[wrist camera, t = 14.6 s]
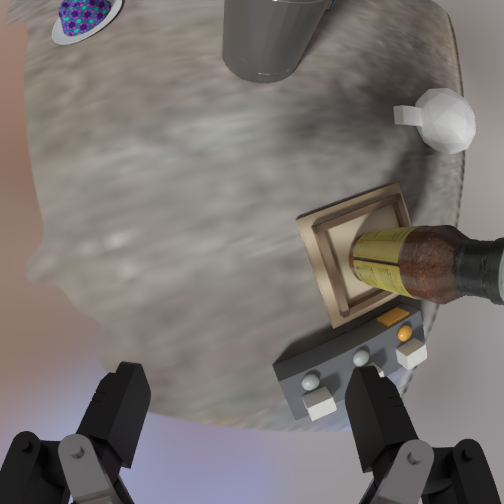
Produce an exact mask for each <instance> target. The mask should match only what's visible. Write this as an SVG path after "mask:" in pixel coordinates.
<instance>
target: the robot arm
mask: <svg viewBox="0 0 504 504" xmlns="http://www.w3.org/2000/svg"><path fill="white" fill-rule="evenodd" d="M329 2H330V0H225V4H224V26H223V51H222V53H223V59H224V62H225V64H226V65H227V67H228V68H229V69H230V70H231V71H232V72H233V73H234V74H236V75H237V76H239V77H241V78H243V79H246V80H249V81H252V82H258V83H270V82H276V81H279V80H283V79H284V78H286V77H288V76H289V75H290V74H291V73H292V72H293V71H294V70H295V68H296V66H297V64H298V62H299V60H300V58H301V56H302V54H303V52H304V50H305V49H306V46H307V44H308V42H309V40H310V38H311V36H312V35H313V33H314V31H315V29H316V27H317V25H318V23H319V21H320V19H321V17H322V15H323V13H324V11H325V9H326V7H327V5H328V3H329ZM150 399H151V391H150V387H149V384H148V381H147V379H146V376H145V373H144V370H143V367H142V365H141V364H138V363H131V362H124V361H122V362H121V363H120V364H119V366H118V368H117V370H116V373H111V372H110V373H108V374H107V375H106V376H105V377H104V378H103V379H102V380H101V381H100V383H99V385H98V387H97V389H96V393H94V395H93V398H92V401H91V402H90V404H89V406H88V408H87V410H86V412H85V415H84V417H83V419H82V421H81V424H80V426H79V428H78V430H77V432H76V433H75V434H71V435H68V436H66V437H65V438H64V439H63V440H62V441H44V440H40V439H39V438H38V437H37V436H36V435H35V434H34V433H32V432H29V431H24V432H20V433H19V434H17V435H16V436H15V437H14V439H13V441H12V443H11V446H10V448H9V451H8V453H7V455H6V458H5V460H4V463H3V465H2V468H1V470H0V504H68V502H69V498H70V495H72V497H73V503H71V504H134V502H133V500H132V498H131V496H130V495H129V493H128V491H127V489H126V487H125V485H124V483H123V481H122V479H121V477H120V475H119V471H120V468H121V467H125V468H129V469H130V468H131V465H132V461H133V457H134V454H135V450H136V447H137V444H138V440H139V437H140V433H141V430H142V426H143V423H144V420H145V416H146V413H147V410H148V407H149V404H150ZM345 405H346V409H347V413H348V417H349V420H350V424H351V428H352V432H353V435H354V439H355V443H356V447H357V451H358V455H359V459H360V463H361V467H362V471H363V473H366V472H371V471H372V472H373V476H374V478H373V479H372V481H371V483H370V484H369V486H368V488H367V490H366V492H365V493H364V495H363V497H362V499H361V500H360V502H359V504H418V501H419V499H420V497H421V498H422V503H423V504H501V501H500V498H499V495H498V491H497V488H496V485H495V482H494V479H493V476H492V474H491V471H490V468H489V465H488V463H487V460H486V457H485V455H484V452H483V450H482V448H481V446H480V444H479V443H478V442H476V441H475V440H473V439H464V440H462V441H460V442H459V443H458V444H457V445H456V446H455V447H445V448H433V447H431V446H430V445H429V444H428V443H426V442H425V441H422V440H419V438H418V436H417V435H416V432H415V430H414V427H413V425H412V422H411V420H410V417H409V415H408V413H407V411H406V408H405V406H404V403H403V401H402V399H401V398H400V394H399V392H398V390H397V388H396V386H395V384H394V383H393V382H392V381H391V380H390V379H389V378H388V377H387V376H385V377H380V375H379V373H378V370H377V368H376V367H375V366H374V365H369V366H360V367H355V368H354V369H353V372H352V375H351V378H350V381H349V384H348V386H347V389H346V392H345Z"/></svg>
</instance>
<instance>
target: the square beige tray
mask: <svg viewBox="0 0 504 504" xmlns="http://www.w3.org/2000/svg"><path fill="white" fill-rule="evenodd" d="M296 223H297V225H298V228H299V231H300V234H301V236H302V239H303V242H304V245H305V248H306V250H307V253H308V256H309V259H310V262H311V265H312V268H313V271H314V273H315V276H316V279H317V282H318V285H319V288H320V291H321V294H322V297H323V301H324V304H325V307H326V310H327V313H328V316H329V319H330V323H331V326H332V328H333V329H335V328H337V327H339V326H341V325H343V324H345V323H347V322H349V321H351V320H353V319H355V318H357V317H359V316H361V315H363V314H365V313H367V312H369V311H371V310H373V309H375V308H377V307H378V306H380V305H382V304H384V303H386V302H388V301H390V300H391V299H393V298H395V297H397V296H399V295H400V294H397V293H393V292H390V291H387V290H383V289H380V288H376V287H372V286H369V285H367V284H365V283H364V282H362V281H360V280H358V279H357V278H356V277H355V275H354V274H353V272H352V270H351V269H350V266H349V254H350V249H351V246H352V244H353V242H354V240H355V239H356V238H357V237H358V236H360V235H362V234H364V233H366V232H368V231H370V230H374V229H388V228H400V227H412V224H411V220H410V217H409V213H408V210H407V207H406V204H405V200H404V197H403V194H402V191H401V188H400V185H399V182H397V183H394V184H391V185H388V186H386V187H383V188H380V189H377V190H375V191H372V192H369V193H367V194H364V195H361V196H358V197H356V198H353V199H350V200H348V201H345V202H342V203H340V204H337V205H334V206H331V207H329V208H326V209H323V210H321V211H318V212H315V213H313V214H310V215H308V216H305V217H302V218H300V219H297V220H296Z"/></svg>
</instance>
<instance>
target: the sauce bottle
mask: <svg viewBox="0 0 504 504" xmlns="http://www.w3.org/2000/svg"><path fill="white" fill-rule="evenodd" d="M349 266H350V269H351V270H352V272H353V274H354V275H355V277H356V278H357V279H358V280H360V281H362V282H364V283H365V284H367V285H369V286H372V287H376V288H380V289H383V290H387V291H390V292H393V293H397V294H401V295H404V296H408V297H411V298H415V299H419V300H428V301H430V302H434V303H439V304H447V303H448V302H450V301H453V300H455V299H458V298H460V297H463V296H465V295H467V296H479V297H483V298H487V299H490V300H491V302H492V303H494V304H498V305H504V238H498V239H496V240H495V241H479V240H474V239H470V238H468V237H467V236H465V235H464V234H462V233H461V232H460V231H459V230H458V229H456V228H455V227H454V226H451V225H441V226H413V227H400V228H388V229H374V230H370V231H368V232H366V233H364V234H362V235H360V236H358V237H357V238H356V239H355V240H354V242H353V244H352V246H351V249H350V254H349Z"/></svg>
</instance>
